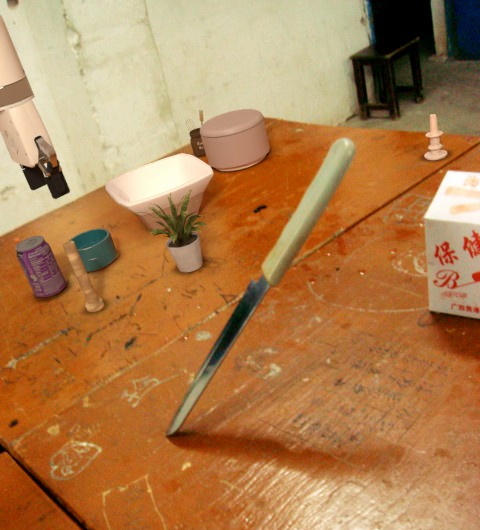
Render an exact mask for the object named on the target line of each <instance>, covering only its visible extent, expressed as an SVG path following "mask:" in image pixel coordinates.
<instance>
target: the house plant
mask: <svg viewBox="0 0 480 530" xmlns="http://www.w3.org/2000/svg"><path fill="white" fill-rule="evenodd" d="M192 189H193V188H192ZM192 189H191V190H190V191H189V192H188V193H187V194H186V196H185V195H184V196H185V198H184V197H183V198H184V201H183V204H182V206H181V210H180V215H177V212H176V208H175V205H174V203H173V202H172V200H171V192H170V196H169V197H168V196H167V197H168V200H169V204H170V208H171V213H172V216H171V215H166V214H165V212H164V211H163V210H162V209H161V208H160V207H159V206H158V205H156V204H154V205H156V206H157V207H158V208H159V209H160V210H161V211H162V212H163V214H164V215H165V216H164V215H163V214H162V213H161V212H160V211H158V210H157V209H155V208H153V207H151V206H148V207H151V208H149V209H150V210H152V211H153V212H154V213H155V214H157V215H158V216H160V218H162V219H163V220H164V221H165V222H166V224H167V225H168V226H169V227H170V228H169V227H168V228H167V227H166V226H165V224H164V223H161V221H160V220H159V221H160V222H158V221H156V223H158V224H160V225H161V226H163V227H164V228H165V229H164V230H161V229H153V230H151V231H150V233H149V235H153V237H156V236H159V235H164V236H162V239H164V238H165V237H167V238H168V239H167V241H166V242H165V246H166V248H167V250H168V252H169V254H170V256H171V258H172V259H173V262H174V263H175V265H176V267H177V269H178V271H179V272H181V273H191V272H195V271H196V270H197V271H198V270H199V269H200V268H201V267H202V266H203V261H204V260H203V254H202V246H201V239H200V234H202V232H201V229H200V227H199V226H202V227H205V228H208V226H207V224H206V223H205V222H204V221H196V220H197V219H199V218H204V215H201V214H198V215H192V214H193V213H195V212H193V213H191V214H189V215H188V214H187V216H186V213H190V212H186V211H187V207H188V203H189V195H190V193H191V191H192ZM183 198H182V199H183ZM182 199H181V200H180V202H179V204H180V203H181V201H182ZM198 200H200V199H198ZM198 200H197V201H198ZM197 201H195V202H194V203H193V205H194V204H195V203H196V202H197ZM149 204H152V203H149ZM179 204H178V206H177V211H178V207H179ZM193 205H192V206H193ZM192 206H191V208H192ZM148 207H147V208H148ZM191 208H190V209H191ZM189 211H190V210H189ZM196 212H197V211H196ZM135 213H145V212H135ZM131 214H134V213H132V212H131V213H130V215H131ZM146 214H148V213H146ZM149 215H150V214H149ZM190 215H191V216H190ZM151 216H152V215H151ZM185 216H186V217H185ZM189 216H190V217H189ZM153 217H154V216H153ZM172 217H173V218H172ZM188 217H189V218H188ZM157 218H158V217H157ZM157 218H155V219H157ZM187 218H188V220H187V221H186V219H187ZM155 219H154V220H155ZM173 219H174V220H173ZM195 221H196V222H195ZM153 223H154V222H153ZM151 224H152V223H151ZM199 233H200V234H199ZM153 237H152V238H153Z"/></svg>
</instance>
